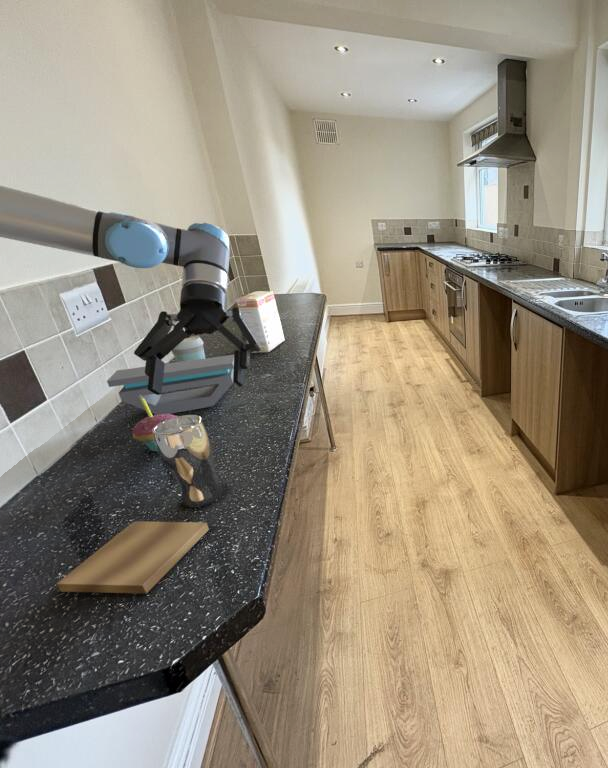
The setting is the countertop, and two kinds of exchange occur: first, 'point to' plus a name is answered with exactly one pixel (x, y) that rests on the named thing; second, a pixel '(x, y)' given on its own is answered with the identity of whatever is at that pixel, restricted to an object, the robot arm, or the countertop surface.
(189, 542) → the serving board
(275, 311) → the coffeecake box
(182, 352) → the coffee cup
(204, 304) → the robot arm
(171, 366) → the grey tapered box
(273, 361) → the countertop surface
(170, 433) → the beer glass
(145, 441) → the cupcake
